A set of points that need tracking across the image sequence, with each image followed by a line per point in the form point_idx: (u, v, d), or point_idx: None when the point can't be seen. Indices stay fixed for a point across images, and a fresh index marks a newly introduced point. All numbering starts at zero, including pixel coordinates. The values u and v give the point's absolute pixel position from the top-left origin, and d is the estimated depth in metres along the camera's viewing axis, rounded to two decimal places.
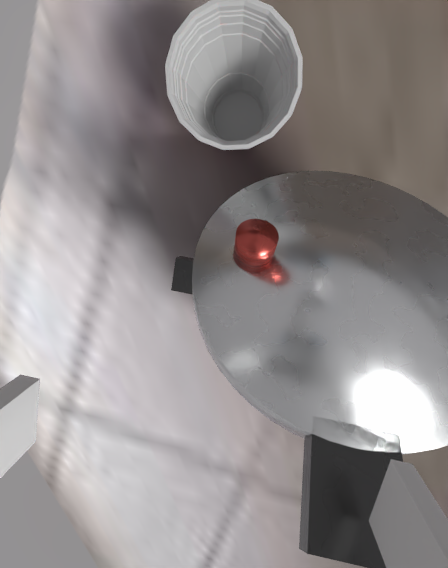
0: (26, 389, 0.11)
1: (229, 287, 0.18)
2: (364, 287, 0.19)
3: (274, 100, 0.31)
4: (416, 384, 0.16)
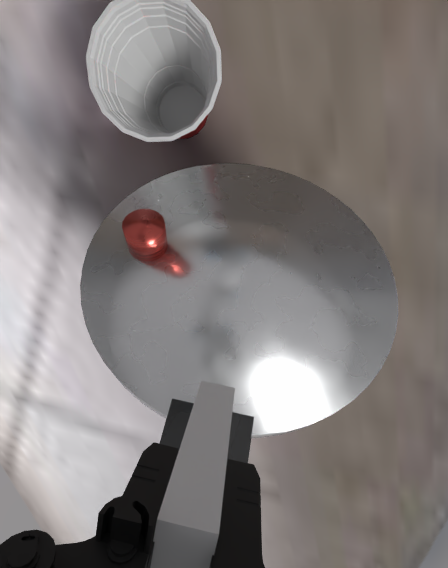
0: (216, 393, 0.13)
1: (118, 275, 0.19)
2: (252, 277, 0.19)
3: None
4: (282, 370, 0.17)
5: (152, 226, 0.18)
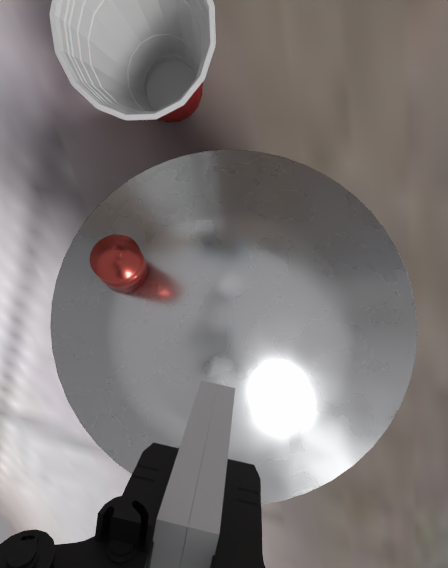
0: (215, 393, 0.13)
1: (92, 312, 0.17)
2: (247, 311, 0.17)
3: None
4: (276, 429, 0.15)
5: (125, 259, 0.15)
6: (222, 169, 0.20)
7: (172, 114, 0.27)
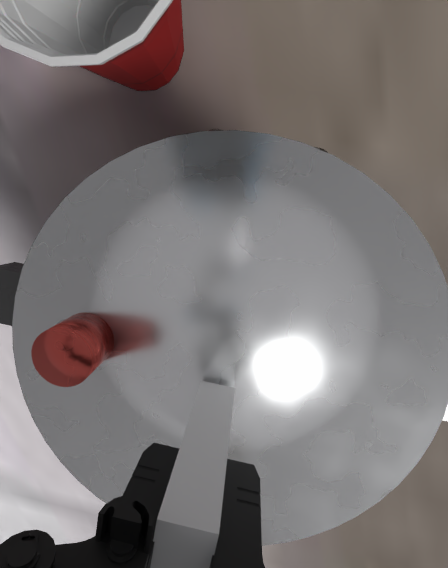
0: (216, 393, 0.13)
1: None
2: (235, 386, 0.14)
3: None
4: (261, 496, 0.15)
5: (74, 362, 0.12)
6: (198, 173, 0.12)
7: (136, 71, 0.19)
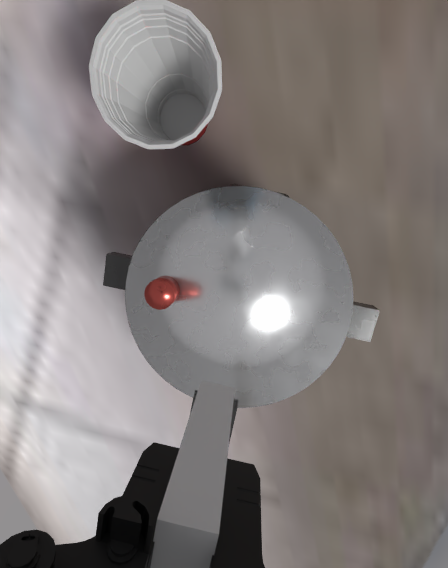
0: (216, 393, 0.13)
1: (150, 315, 0.28)
2: (242, 314, 0.27)
3: (208, 101, 0.31)
4: (256, 377, 0.28)
5: (165, 296, 0.25)
6: (225, 206, 0.25)
7: None
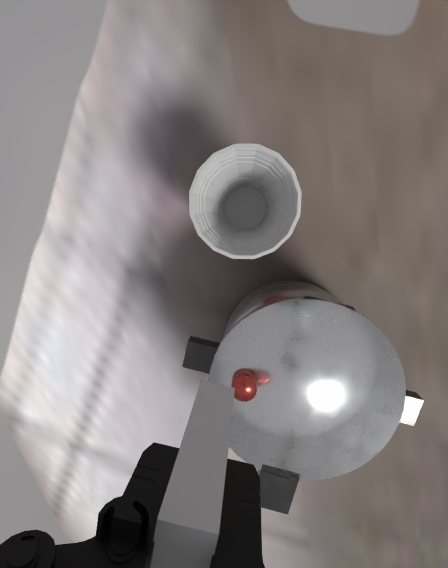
0: (216, 393, 0.13)
1: None
2: (309, 403, 0.32)
3: (277, 207, 0.36)
4: (317, 455, 0.33)
5: (249, 391, 0.30)
6: (301, 315, 0.30)
7: None
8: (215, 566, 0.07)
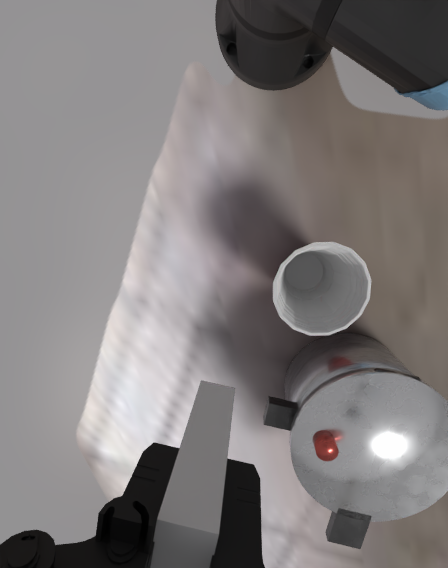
0: (215, 393, 0.13)
1: (309, 455, 0.37)
2: (380, 458, 0.37)
3: (340, 280, 0.41)
4: (387, 500, 0.38)
5: (332, 453, 0.35)
6: (374, 386, 0.35)
7: (319, 307, 0.42)
8: (215, 566, 0.07)
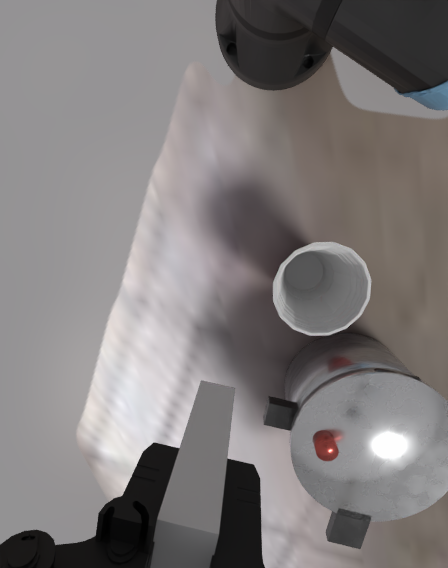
0: (215, 393, 0.13)
1: (309, 455, 0.37)
2: (380, 458, 0.37)
3: (340, 280, 0.41)
4: (387, 500, 0.38)
5: (332, 453, 0.35)
6: (374, 386, 0.35)
7: (319, 307, 0.42)
8: (215, 566, 0.07)
